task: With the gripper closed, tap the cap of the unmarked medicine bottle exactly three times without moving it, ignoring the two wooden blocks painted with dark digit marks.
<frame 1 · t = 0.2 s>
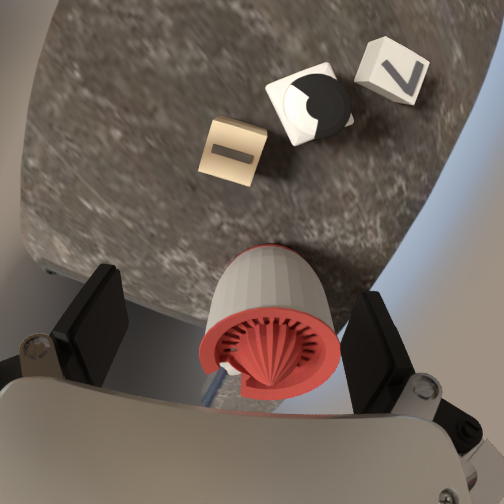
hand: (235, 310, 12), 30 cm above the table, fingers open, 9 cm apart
medicine bottle: (302, 101, 35), on the table
maple block one: (236, 144, 38), on the table
citrus juicer: (264, 278, 48), on the table
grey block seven: (381, 72, 32), on the table
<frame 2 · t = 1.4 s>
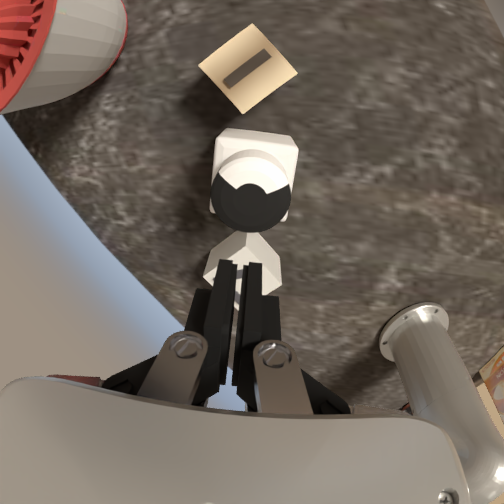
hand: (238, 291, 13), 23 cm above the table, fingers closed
medicine bottle: (254, 162, 33), on the table
maple block one: (250, 72, 28), on the table
citrus juicer: (85, 33, 25), on the table
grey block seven: (245, 253, 38), on the table
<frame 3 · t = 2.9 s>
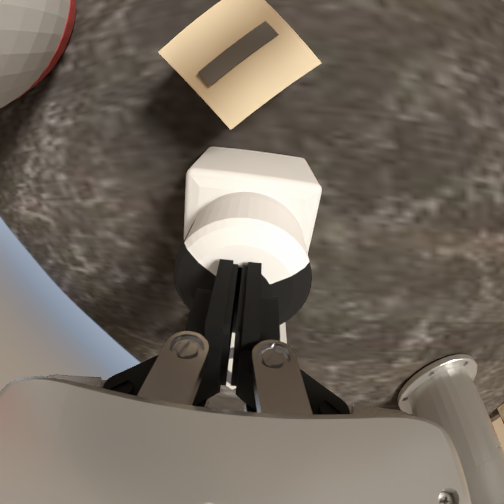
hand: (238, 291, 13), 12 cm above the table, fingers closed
medicine bottle: (251, 195, 23), on the table, touching gripper
maple block one: (245, 63, 19), on the table
citrus juicer: (28, 24, 16), on the table
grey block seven: (239, 311, 29), on the table
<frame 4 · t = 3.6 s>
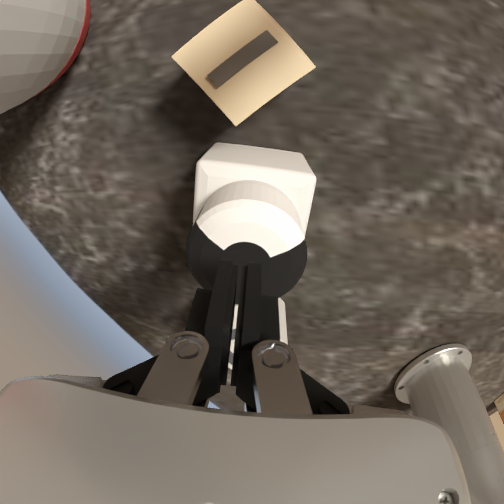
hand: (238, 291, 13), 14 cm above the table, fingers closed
medicine bottle: (253, 187, 25), on the table
maple block one: (247, 66, 21), on the table
citrus juicer: (43, 27, 18), on the table
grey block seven: (242, 298, 31), on the table
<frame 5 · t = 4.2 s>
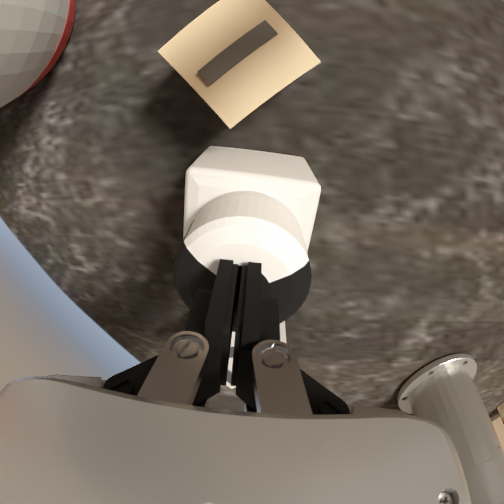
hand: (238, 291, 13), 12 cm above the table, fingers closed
medicine bottle: (251, 194, 23), on the table
maple block one: (244, 62, 19), on the table
citrus juicer: (28, 24, 15), on the table
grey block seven: (239, 311, 29), on the table
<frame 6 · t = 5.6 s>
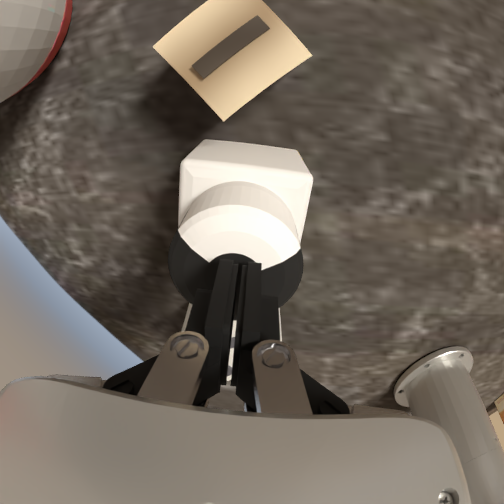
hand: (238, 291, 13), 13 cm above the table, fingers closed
medicine bottle: (245, 187, 24), on the table
maple block one: (238, 57, 19), on the table
citrus juicer: (25, 22, 15), on the table
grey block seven: (234, 303, 29), on the table
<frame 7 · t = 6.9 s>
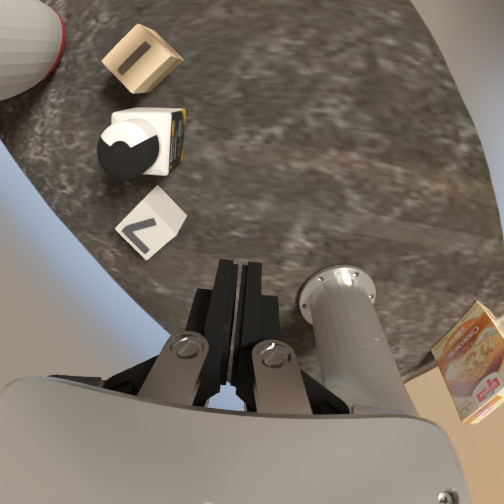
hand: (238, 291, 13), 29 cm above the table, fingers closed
medicine bottle: (158, 133, 37), on the table
maple block one: (152, 61, 32), on the table
citrus juicer: (38, 43, 29), on the table
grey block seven: (158, 213, 43), on the table
coffeecake box: (460, 329, 53), on the table
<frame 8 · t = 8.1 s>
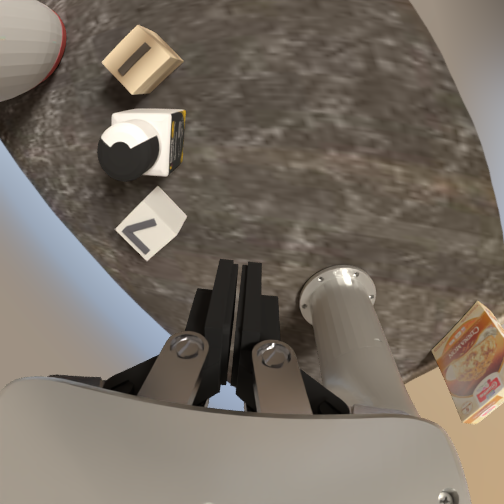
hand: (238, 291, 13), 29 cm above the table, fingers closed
medicine bottle: (158, 134, 37), on the table
maple block one: (152, 62, 32), on the table
citrus juicer: (38, 44, 29), on the table
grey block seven: (158, 213, 43), on the table
coffeecake box: (460, 330, 53), on the table
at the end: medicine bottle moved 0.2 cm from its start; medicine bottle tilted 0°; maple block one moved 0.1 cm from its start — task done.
